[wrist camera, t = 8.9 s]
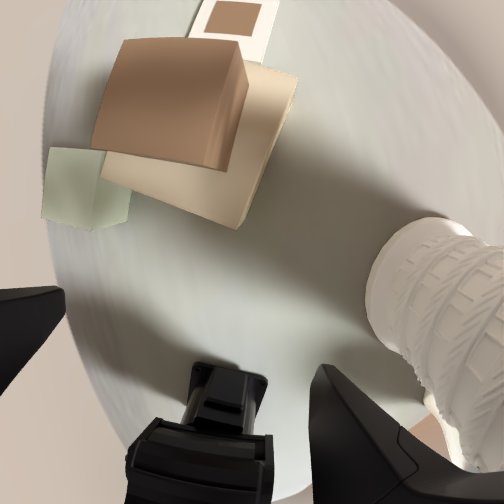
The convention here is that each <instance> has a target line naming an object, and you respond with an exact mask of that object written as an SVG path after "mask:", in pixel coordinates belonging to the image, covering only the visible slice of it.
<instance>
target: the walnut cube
mask: <svg viewBox="0 0 504 504" xmlns="http://www.w3.org/2000/svg"><path fill="white" fill-rule="evenodd" d="M248 88H249V82H248V78H247V74H246V70H245V66H244V62H243V58H242V55H241V51H240V47H239V43H238V41H232V40H222V39H209V38H184V37H166V38H141V39H129V40H124V41H123V44H122V46H121V48H120V51H119V53H118V56H117V58H116V61H115V64H114V66H113V69H112V72H111V75H110V77H109V80H108V83H107V86H106V89H105V92H104V96H103V99H102V102H101V106H100V109H99V113H98V116H97V120H96V124H95V128H94V132H93V136H92V140H91V145H90V148H92V149H99V150H105V151H111V152H117V153H122V154H128V155H133V156H139V157H144V158H151V159H157V160H163V161H169V162H175V163H181V164H186V165H192V166H197V167H202V168H207V169H212V170H217V171H222V172H227V169H228V165H229V161H230V157H231V153H232V149H233V145H234V141H235V137H236V133H237V129H238V125H239V121H240V117H241V114H242V110H243V106H244V102H245V99H246V95H247V92H248Z"/></svg>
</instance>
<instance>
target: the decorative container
mask: <svg viewBox="0 0 504 504" xmlns="http://www.w3.org/2000/svg"><path fill="white" fill-rule="evenodd" d="M365 306H366V312H367V318H368V321H369V323H370V325H371V327H372V329H373V331H374V333H375V334H376V336H377V337H378V339H379V340H380V341H381V342H382V343H383V344H384V345H385V346H386V347H387V348H388V349H390V350H392V351H394V352H396V353H398V354H401V355H403V359H405V360H407V362H408V363H409V364H411V365H412V366H413V367H414V370H415V371H414V372H415V374H416V375H417V377H418V378H417V380H418V381H421V386H424V387H425V388H426V390H427V391H429V392H430V393H431V394H432V395H434V398H435V402H436V407H437V408H438V409H439V415H441V414H442V419H445V421H446V423H447V424H449V425H450V426H451V427H452V428H455V429H457V430H458V432H459V441H460V447H461V449H462V450H463V451H462V455H463V456H464V459H466V460H468V461H469V463H470V464H472V465H473V466H475V467H477V466H478V467H479V469H480V470H481V472H482V473H488V472H498V471H504V246H499V245H488V244H486V243H485V242H484V241H482V240H481V239H479V238H476V237H474V236H473V235H472V234H471V233H470V232H469V231H468V230H467V229H466V228H465V227H464V226H462V225H461V224H459V223H456V222H454V221H451V220H449V219H445V218H441V217H425V218H422V219H419V220H416V221H413V222H410V223H409V224H407V225H406V226H404V227H403V228H401V229H400V230H398V231H397V232H395V234H394V235H393V236H392V237H391V238H390V239H389V240H388V242H387V243H386V244H385V245H384V246H383V247H382V249H381V251H380V252H379V254H378V256H377V258H376V259H375V261H374V263H373V265H372V268H371V271H370V274H369V277H368V281H367V284H366V295H365Z"/></svg>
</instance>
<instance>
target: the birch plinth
mask: <svg viewBox="0 0 504 504" xmlns="http://www.w3.org/2000/svg"><path fill="white" fill-rule="evenodd" d="M243 62H244V66H245V70H246V74H247V78H248V82H249V88H248V92H247V95H246V99H245V102H244V106H243V110H242V114H241V117H240V121H239V125H238V129H237V133H236V137H235V141H234V145H233V149H232V153H231V157H230V161H229V165H228V169H227V172H222V171H217V170H212V169H207V168H202V167H197V166H192V165H186V164H181V163H175V162H169V161H163V160H157V159H151V158H144V157H139V156H133V155H128V154H122V153H117V152H111V151H107V154H106V157H105V160H104V163H103V167H102V170H101V173H100V178H102V179H105V180H108V181H110V182H113V183H115V184H118V185H121V186H123V187H126V188H129V189H131V190H134V191H137V192H139V193H142V194H144V195H147V196H150V197H152V198H155V199H157V200H160V201H163V202H165V203H168V204H170V205H173V206H176V207H178V208H181V209H183V210H186V211H188V212H191V213H193V214H196V215H199V216H201V217H204V218H206V219H209V220H211V221H214V222H216V223H219V224H221V225H224V226H226V227H229V228H231V229H234V230H237V228H238V227H239V226H240V225H241V224H242V223H243V221H244V220H245V218H246V216H247V213H248V210H249V208H250V205H251V203H252V200H253V198H254V195H255V193H256V190H257V188H258V185H259V183H260V180H261V178H262V175H263V173H264V170H265V168H266V166H267V163H268V161H269V158H270V156H271V153H272V151H273V148H274V146H275V144H276V141H277V139H278V136H279V134H280V131H281V129H282V127H283V124H284V122H285V119H286V117H287V115H288V112H289V110H290V107H291V105H292V103H293V98H294V94H295V90H296V85H297V81H298V78H297V77H294V76H291V75H288V74H285V73H282V72H279V71H276V70H273V69H270V68H267V67H264V66H261V65H257V64H254V63H250V62H247V61H243Z"/></svg>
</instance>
